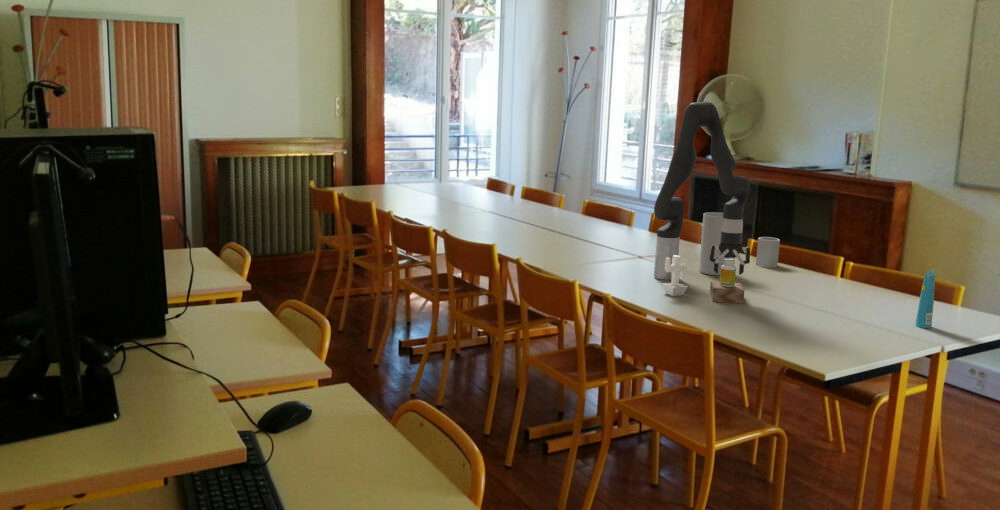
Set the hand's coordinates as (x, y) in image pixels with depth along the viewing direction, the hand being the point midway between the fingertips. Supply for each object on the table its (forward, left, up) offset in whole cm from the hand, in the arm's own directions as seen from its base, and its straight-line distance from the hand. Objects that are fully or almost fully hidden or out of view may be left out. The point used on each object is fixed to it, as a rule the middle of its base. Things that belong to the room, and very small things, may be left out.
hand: (728, 273), depth 308 cm
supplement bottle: (0, 0, -5) cm, 5 cm away
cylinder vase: (0, +45, -10) cm, 46 cm away
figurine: (-19, +2, -10) cm, 21 cm away
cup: (+25, +67, -10) cm, 72 cm away
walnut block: (0, 0, -10) cm, 10 cm away
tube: (+62, -22, -10) cm, 67 cm away
